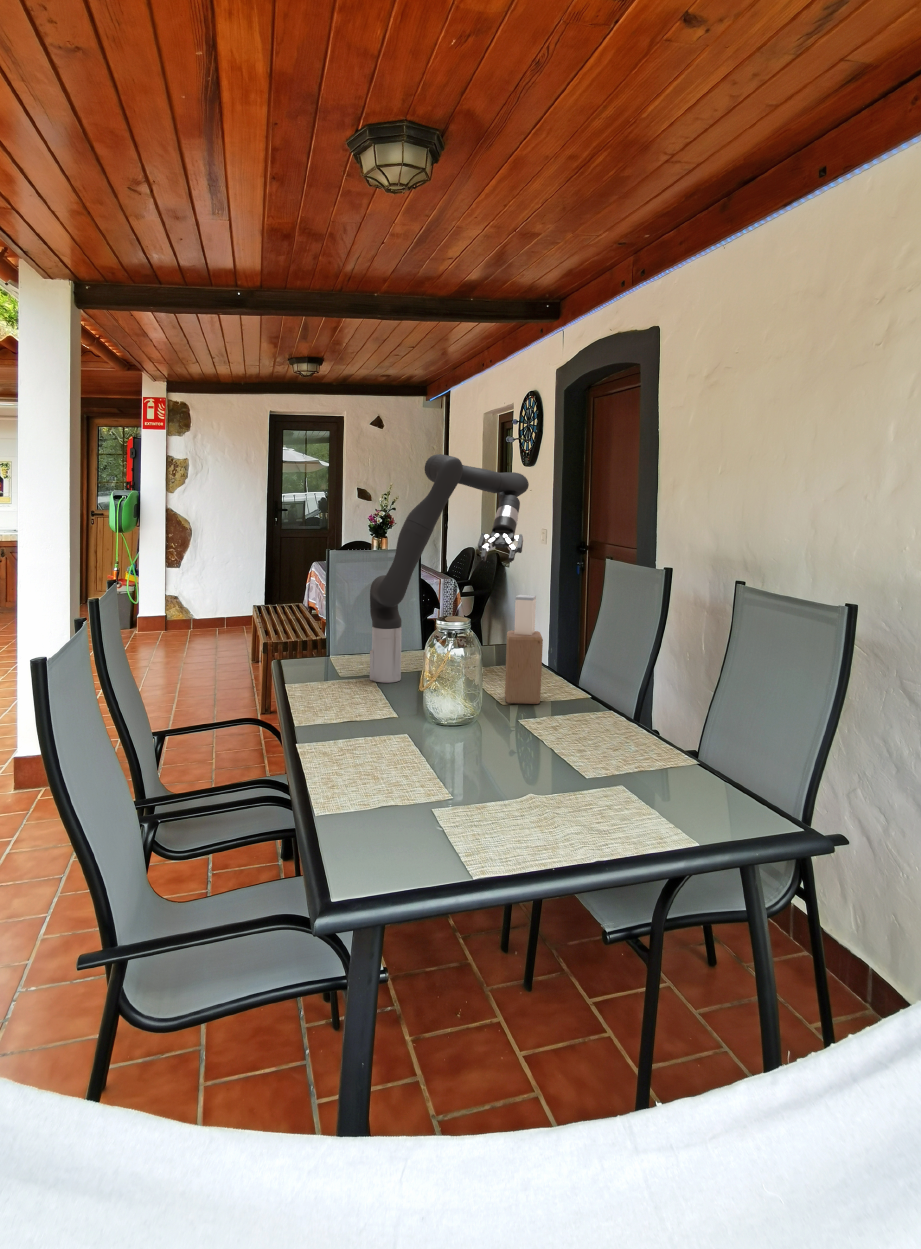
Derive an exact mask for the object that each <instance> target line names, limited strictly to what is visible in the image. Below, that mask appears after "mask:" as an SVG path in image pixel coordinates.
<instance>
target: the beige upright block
mask: <svg viewBox="0 0 921 1249" xmlns="http://www.w3.org/2000/svg"><path fill="white" fill-rule="evenodd" d="M536 600H537V595H530V594H529V595H528V594H518V595H516V596H515V601H514V602H515V608H514V610H515V611H514V631H515V633H514V634H522V635H532V634H533V633H534V632H535V631H536V604H537V601H536Z"/></svg>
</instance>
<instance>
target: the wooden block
mask: <svg viewBox="0 0 921 1249" xmlns="http://www.w3.org/2000/svg"><path fill="white" fill-rule="evenodd" d="M514 633H515V630H512V629H511V630H508V631H507V632H506V646H505V647H506V648H505V650H506V651H505V654H506V655H505V678H504V679H505V680H504V681H505V682H504V698H505V702H506V703H507V704H518V705H521V704H522V705H523V704H525V705H538V704H540V702H541V693H542V692H541V691H542V690H541V688H542V668H543V666H542V665H543V647H544V646H543V645H544V644H543V643H544V642H543V641H544V640H543V637H542V634H541V631H538V630H535V632H534V633H533V634H532V635H522V634H514Z"/></svg>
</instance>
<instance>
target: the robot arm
mask: <svg viewBox="0 0 921 1249" xmlns="http://www.w3.org/2000/svg"><path fill="white" fill-rule="evenodd" d="M424 473H425V476H426V478H427V479H428V480H430V481H431V482H433V484H432V486H431V489H430V491H429V492H428V493H427V495H426V496H425V498H423V499H422V500H421V501H420V502H419V503H418V504H417V505H416V506H415V507H414V508H413V509H412V510H410V512H409V513H408V515H407V517H406V518H405V520H404V523H403V525H402V527H401V529H400V532H399V534H398V537H397V542H396V548H395V554H394V558H393V561H392V563H391V565H390V567H389V569H388V571H387V572H386V574H384V575H378V576H377V577H375V579H373V581H372V582H371V585H370V589H369V610H370V618H371V624H372V626H371V631H372V632H371V633H372V634H371V635H372V636H371V650H370V651H369V681H373V682H375V683H390V684H391V683H396V682H399V681H401V680H402V617H401V615H400V613H399V612H400V611H399V604H400V603H401V602H402V601H403V600H404V598H405V596H406V593H407V590H408V587H409V584H410V582H411V579H412V575H413V573H414V571H415V569H416V567H417V565H418V563H419V560H420V558H421V557H422V554H423V553H424V550H425V548H426V546H427V544H428V542H429V540H430V538H431V536H432V534H433V533H434V532H433V531H434V529H435V527H436V525H437V522H438V521H439V519H440V516H441V514H442V513H443V510H444V509H445V507H446V504H448V501H449V499H450V498H451V497H452V494H453V493H454V491H455V489H456V488H457V486H458V485H463V486H466V487H470V488H473V489H477V490H479V491H483V492H488V493H492V494H497V495H498V502H499V503H498V508H497V511H496V513H495V517H494V519H493V520H494V521H493V525H492V529H491V533H490V534H486V533H485V532H482V533H481V534H480V537H479V539H478V543H477V549H478V551H479V552H481V555H480V557H481V560H482V562H486V560H487V556H488V552H490V551H492V550H494V549H495V548H497V549H499V548H502V549H506V548H507V549H508V550H509V555H508V562H509V563H512V562H513V561H514V560H515V556H516V554H517V553H518V554H521V553H523V547H524V546H523V544H524V538H523V534H522V533H520V534H519V535H516V534H515V533H516V529H517V525H518V519H519V513H520V507H521V501H520V499H519V498H518V497H520V496H521V495H523V494H524V493H525V492H527V490H528V489H529V481H528V478H527V477H526V476H525V475H524V474H522V473H520V472H514V471H513V472H498V471H495V470H491V469H487V468H486V469H485V468H482V467H481V468H480V467H475V466H469V465H465V464H463V463H462V461H461V459H459V458H458V457H456V456H454V455H453V456H451V455H447V454H441V453H440V454H439V453H437V454H436V453H435V454H433V455H432V456H431V455H430V457H428V458H427V460H426V461H425V465H424ZM515 541H516V543H517V546H515V545H514V542H515Z"/></svg>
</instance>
